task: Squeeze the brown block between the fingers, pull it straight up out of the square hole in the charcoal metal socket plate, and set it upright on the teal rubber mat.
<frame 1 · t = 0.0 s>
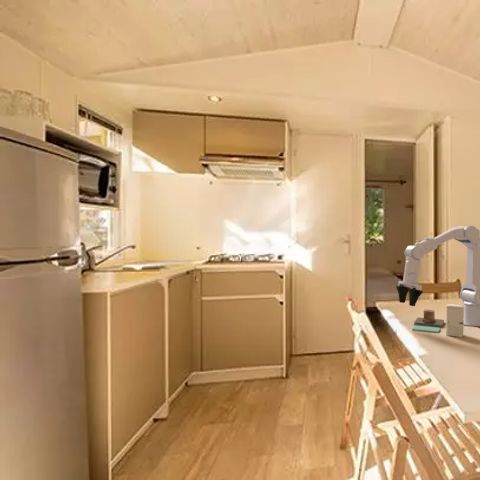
hand: (406, 304, 166), 11 cm above the table, tool pointing down, fingers open, 7 cm apart
mat: (426, 329, 163), on the table
socket plate: (429, 323, 173), on the table
skincare box: (455, 335, 154), on the table
brown block: (429, 317, 173), in the socket plate
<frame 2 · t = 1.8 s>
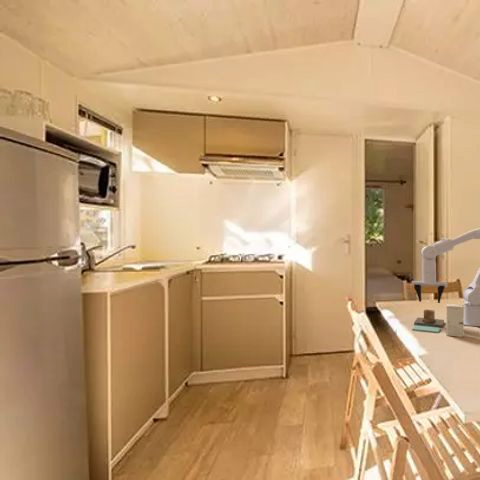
hand: (429, 301, 175), 9 cm above the table, tool pointing down, fingers open, 7 cm apart
nothing on the table moved.
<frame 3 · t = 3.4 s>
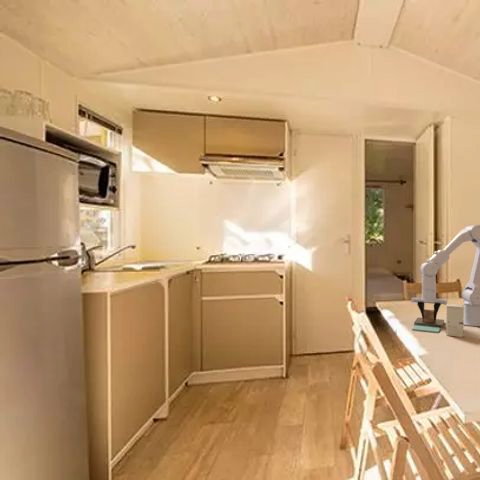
hand: (429, 319, 173), 2 cm above the table, tool pointing down, fingers closed on brown block, 4 cm apart
brown block: (429, 317, 173), in the socket plate, touching gripper
everything else where it was.
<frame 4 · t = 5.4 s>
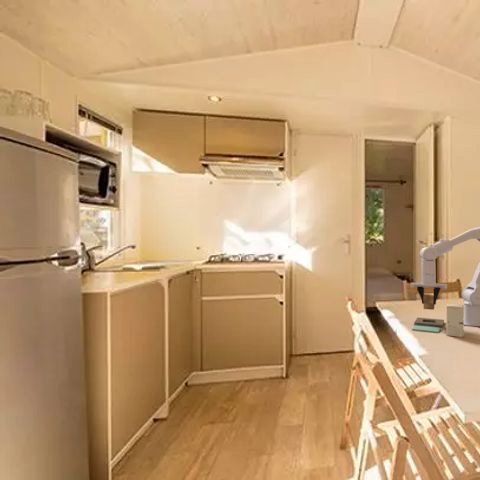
hand: (428, 303, 173), 9 cm above the table, tool pointing down, fingers closed on brown block, 4 cm apart
brown block: (428, 301, 173), point 10 cm above the table, touching gripper
everything else where it was.
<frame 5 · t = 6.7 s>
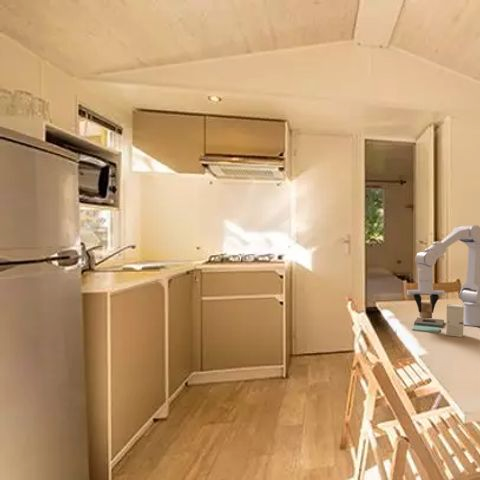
hand: (425, 312, 163), 8 cm above the table, tool pointing down, fingers closed on brown block, 4 cm apart
brown block: (425, 310, 163), point 8 cm above the table, touching gripper
everything else where it was.
when the fingers open (4 cm above the table, at t = 7.7 s): brown block drops 1 cm, resting on mat.
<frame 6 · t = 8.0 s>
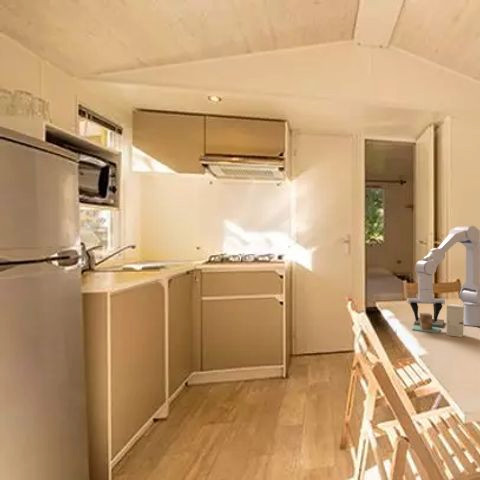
hand: (426, 320, 163), 4 cm above the table, tool pointing down, fingers open, 7 cm apart
brown block: (425, 321, 163), on the mat, point 4 cm above the table
everything else where it was.
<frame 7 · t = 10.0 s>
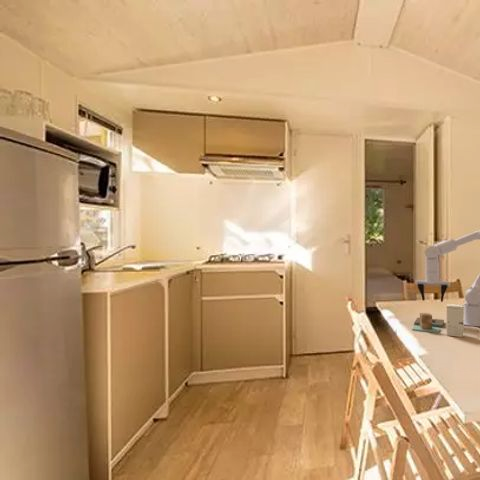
hand: (432, 300, 178), 9 cm above the table, tool pointing down, fingers open, 7 cm apart
nothing on the table moved.
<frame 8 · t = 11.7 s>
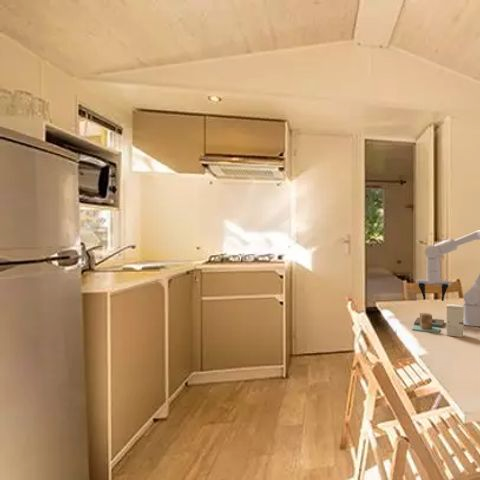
hand: (433, 299, 180), 9 cm above the table, tool pointing down, fingers open, 7 cm apart
nothing on the table moved.
at the end: brown block 0.2 cm off-centre on the mat, point 3.6 cm above the mat's base; brown block tilted 0°; the gripper is holding nothing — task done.
